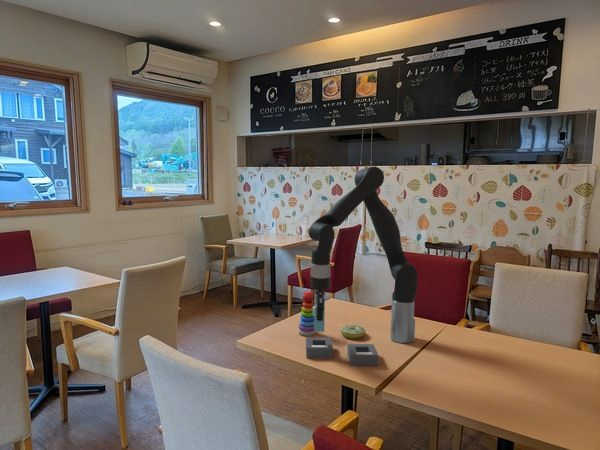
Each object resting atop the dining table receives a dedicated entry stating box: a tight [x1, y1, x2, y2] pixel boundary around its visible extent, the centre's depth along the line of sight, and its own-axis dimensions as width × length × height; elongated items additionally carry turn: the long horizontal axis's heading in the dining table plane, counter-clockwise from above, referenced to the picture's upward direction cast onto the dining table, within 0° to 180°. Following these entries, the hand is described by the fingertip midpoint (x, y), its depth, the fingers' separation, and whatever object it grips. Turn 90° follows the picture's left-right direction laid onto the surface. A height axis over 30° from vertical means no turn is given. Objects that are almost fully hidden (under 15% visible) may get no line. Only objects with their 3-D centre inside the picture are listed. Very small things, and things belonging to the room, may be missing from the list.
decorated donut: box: [340, 324, 367, 340], centre depth 177 cm, size 10×11×4 cm
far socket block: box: [305, 337, 334, 359], centre depth 159 cm, size 10×10×4 cm
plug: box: [313, 303, 326, 333], centre depth 157 cm, size 4×4×10 cm
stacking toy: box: [297, 290, 317, 337], centre depth 178 cm, size 8×8×19 cm
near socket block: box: [346, 343, 380, 367], centre depth 153 cm, size 10×10×4 cm
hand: (319, 318), depth 158 cm, fingers closed on plug, 3 cm apart
